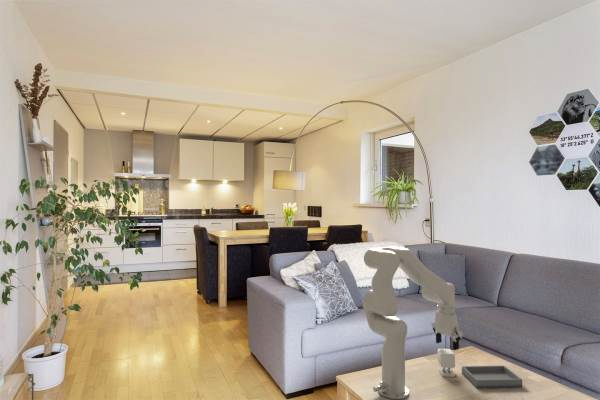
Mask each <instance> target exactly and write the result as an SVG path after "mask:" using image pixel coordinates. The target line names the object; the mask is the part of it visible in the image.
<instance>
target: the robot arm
mask: <svg viewBox="0 0 600 400" xmlns="http://www.w3.org/2000/svg"><path fill="white" fill-rule="evenodd" d="M363 255H364V256H363V262H364V264H365V265H366V267H368V269H369V268H370V269H374V270H376V271H375V273H374V275H373V277H372V280H371V289H369V290H367V291H366V292H365V293H364V295H363V297H362V305H363V310H364V314H365V317H366V320H367V321H366V322H367V324H368V327H369V328H370V330H371V332H372V333H375V334H376V335H378V336H382V337H383V338H385V341H384V343H383V344H382V347H381V381H379V384H378V385H375V386H373V387H372V390H373V392H378V394H379V395H381V396H383V397H385V398H387V399H391V400H403V399H406V398H407V397H409V395H410V389H409V388H408V387H407V386H406V341H407V336H408V325H407V323H406V321H405V320H403V319H402V318H400V317H397V316H396V315H397V314H398V310H399V305H398V302H397V297H396V294H395V290H394V289H395V288H394V285H393V280H394V277H395V273H396V272H397V271H398V269H401V270H402V271H403V272H404V274H405V275H406V276H407V277H408V278H409V280H410V281H411V282H413V283H414V284H416V285H418V286H420V287H422V288H421V296H422V297H423V299H425V300H427V301H430V302H433V303H437V304H436V308H437V310H436V311H435V317H434V322H431V324H430V325H431V328H432V330H433V332H434V335H435V344H440V343H442V335H444V336H447V337H449V338H452V340H453V341H452V351H457V350H459V349H460V341H461V340H462V339H463V337H464V335H465V333H464V332H463V331H462V330H461V329H460V328H459V321H458V317H457V313H456V294H455V288H456V287H455V285H454V284H453V283H452V282H447V281H445V280H444V279H443V278H442V277H441V276H439V275H438V274H436V273H434V272H432V270H430V269H428V268H427V267H426V266H425V265H424V264H423V262H422V261H421V260H420V258H419V257H418V256H416V255H417V254H415V253H414V252H413V251H412V250H411V249H409V248H405V247H398V246H386V247H384V246H383V247H376V248H375V247H373V248H369V249H368V250H366V252H365V253H364V254H363Z"/></svg>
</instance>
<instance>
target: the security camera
mask: <svg viewBox="0 0 600 400" xmlns="http://www.w3.org/2000/svg"><path fill="white" fill-rule="evenodd" d="M437 363H438V364H439V366H440V367H441V368H439V373H440V375H441V376H442V377H453V378H454V377H455V375H456V374H455V372H454V371H453V368H455V367H456V355H455V353H454V352H453V350H452V349H451V348H438V349H437Z"/></svg>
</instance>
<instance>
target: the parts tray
mask: <svg viewBox="0 0 600 400" xmlns="http://www.w3.org/2000/svg"><path fill="white" fill-rule="evenodd" d="M461 375H462V376H463V377H464V378H466V379H467V381H468V382H470V384H472V386H473V387H474V388H475V389H512V388H513V389H517V388H521V389H522V388H523V378H521V377H520V376H518V375H517V374H516V373H514V371H512V370H510V369H509V368H508V367H507V366H506V365H463V366H461Z"/></svg>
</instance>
